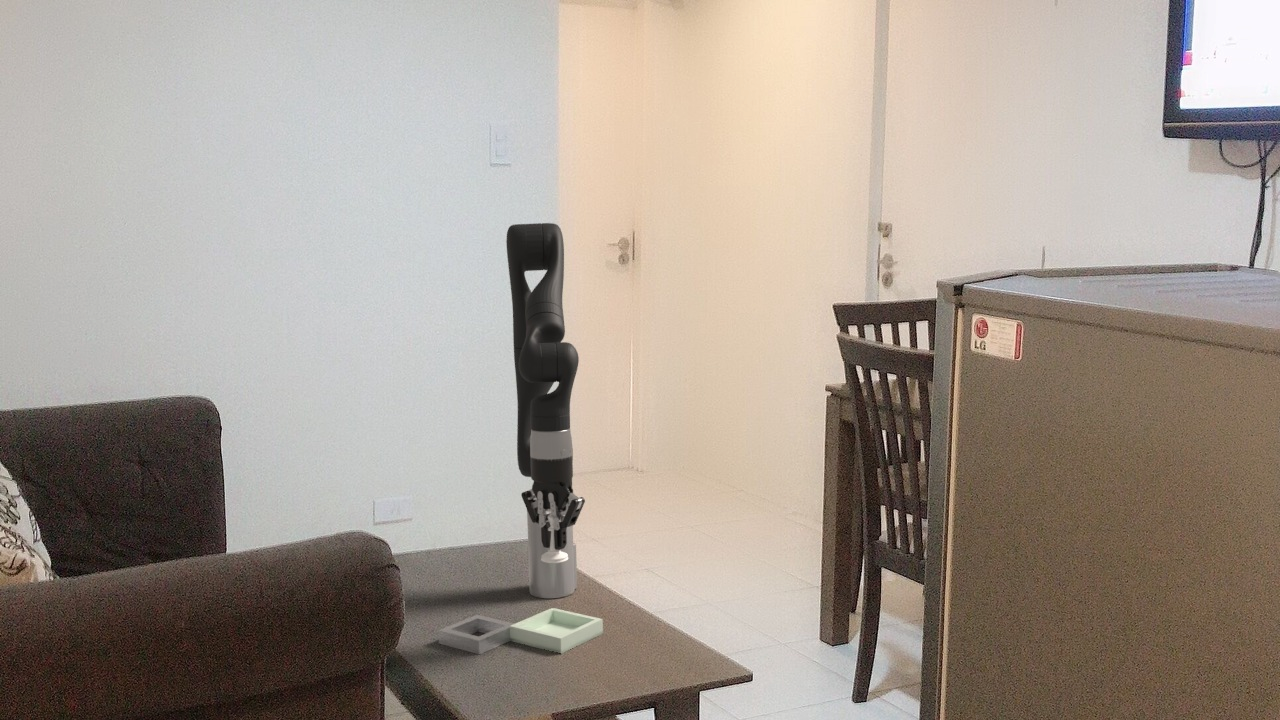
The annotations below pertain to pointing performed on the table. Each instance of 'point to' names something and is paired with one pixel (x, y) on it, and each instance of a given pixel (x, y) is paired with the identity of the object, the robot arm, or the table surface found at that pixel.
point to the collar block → (463, 639)
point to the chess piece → (552, 553)
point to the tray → (556, 630)
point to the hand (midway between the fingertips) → (554, 547)
